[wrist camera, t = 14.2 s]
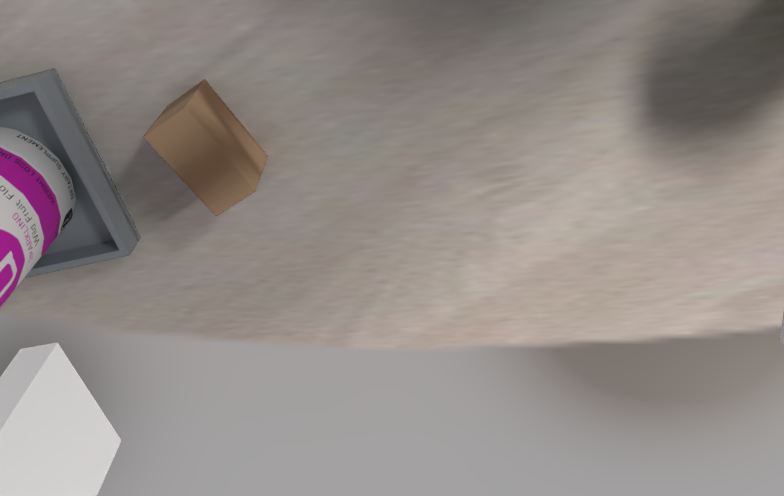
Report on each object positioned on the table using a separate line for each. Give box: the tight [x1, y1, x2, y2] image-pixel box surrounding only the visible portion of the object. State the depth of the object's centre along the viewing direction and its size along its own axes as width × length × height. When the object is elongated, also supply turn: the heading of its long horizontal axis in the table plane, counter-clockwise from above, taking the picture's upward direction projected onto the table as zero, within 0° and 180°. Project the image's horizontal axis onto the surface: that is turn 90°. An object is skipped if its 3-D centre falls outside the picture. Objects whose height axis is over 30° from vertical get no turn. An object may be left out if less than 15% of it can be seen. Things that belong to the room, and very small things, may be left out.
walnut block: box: [144, 80, 268, 216], centre depth 39 cm, size 6×3×5 cm, turn 33°
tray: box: [0, 69, 140, 277], centre depth 42 cm, size 12×12×2 cm
